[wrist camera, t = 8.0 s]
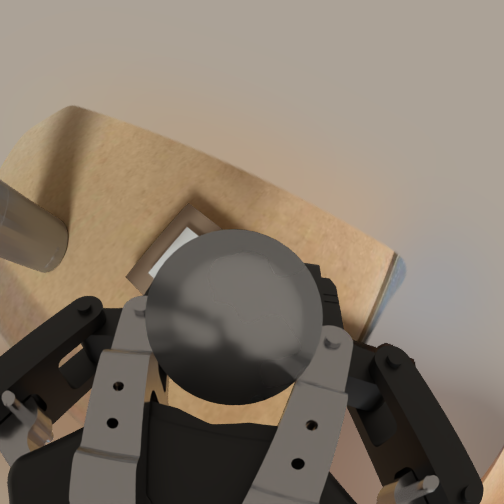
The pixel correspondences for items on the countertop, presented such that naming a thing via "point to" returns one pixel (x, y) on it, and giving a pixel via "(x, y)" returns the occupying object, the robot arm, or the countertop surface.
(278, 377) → the peg
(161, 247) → the recessed board
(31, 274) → the countertop surface
